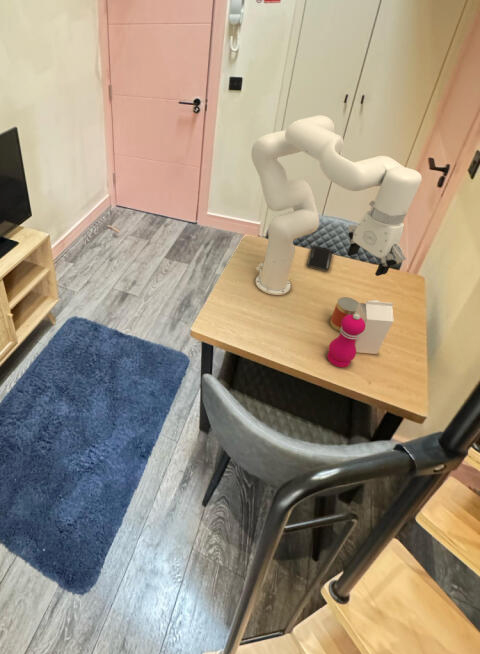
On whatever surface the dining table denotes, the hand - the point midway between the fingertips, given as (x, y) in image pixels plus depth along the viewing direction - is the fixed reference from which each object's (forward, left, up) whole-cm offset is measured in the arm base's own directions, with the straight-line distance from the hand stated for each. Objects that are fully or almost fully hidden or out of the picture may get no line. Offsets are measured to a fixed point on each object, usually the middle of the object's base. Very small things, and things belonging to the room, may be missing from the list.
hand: (365, 264), depth 115 cm
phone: (-35, +27, -32) cm, 54 cm away
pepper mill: (+7, -6, -32) cm, 33 cm away
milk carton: (+5, +5, -32) cm, 33 cm away
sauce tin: (-4, +6, -32) cm, 32 cm away
